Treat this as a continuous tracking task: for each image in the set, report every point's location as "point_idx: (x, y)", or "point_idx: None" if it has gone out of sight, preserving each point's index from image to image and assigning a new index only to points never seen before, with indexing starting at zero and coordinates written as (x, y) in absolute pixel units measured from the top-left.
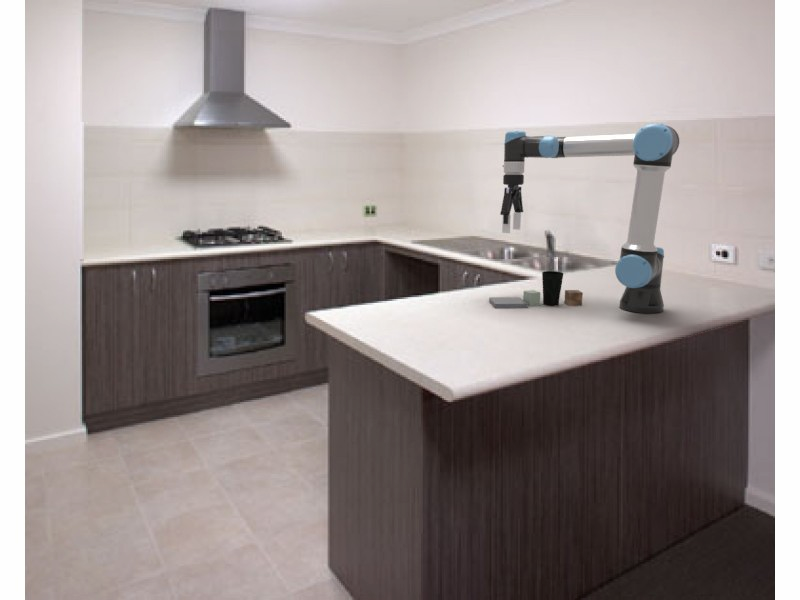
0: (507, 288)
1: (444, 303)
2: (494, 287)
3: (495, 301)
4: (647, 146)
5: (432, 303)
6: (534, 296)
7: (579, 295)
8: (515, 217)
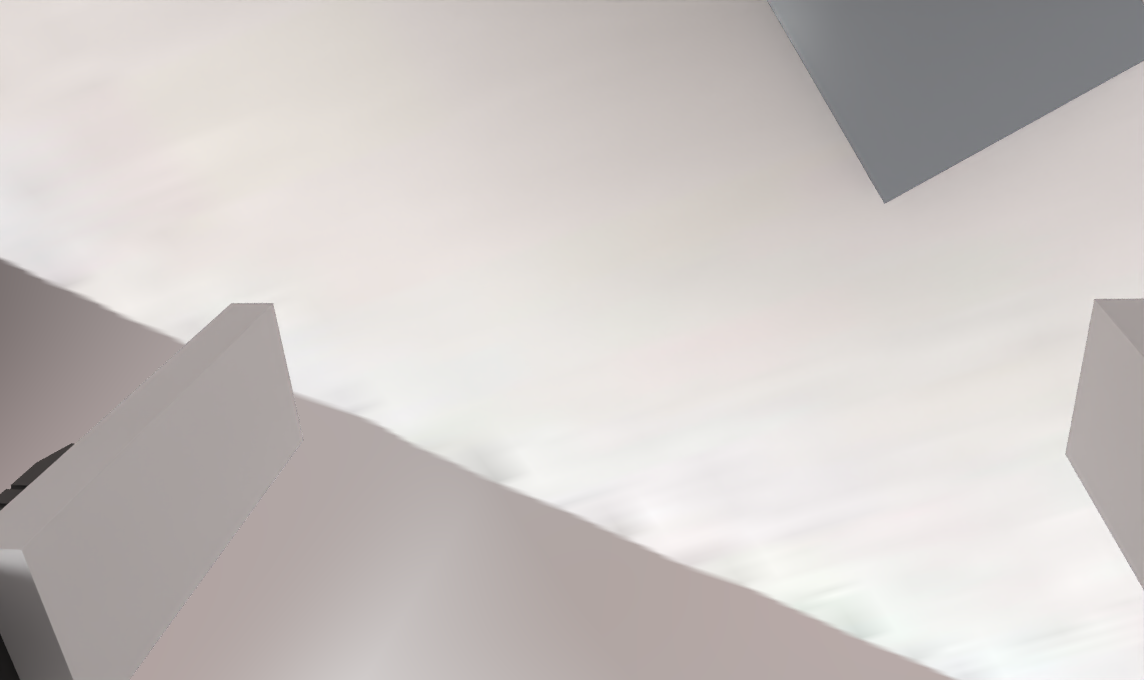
0: (260, 233)
1: None
2: (295, 338)
3: (1046, 90)
4: None
5: None
6: None
7: None
8: (160, 570)
